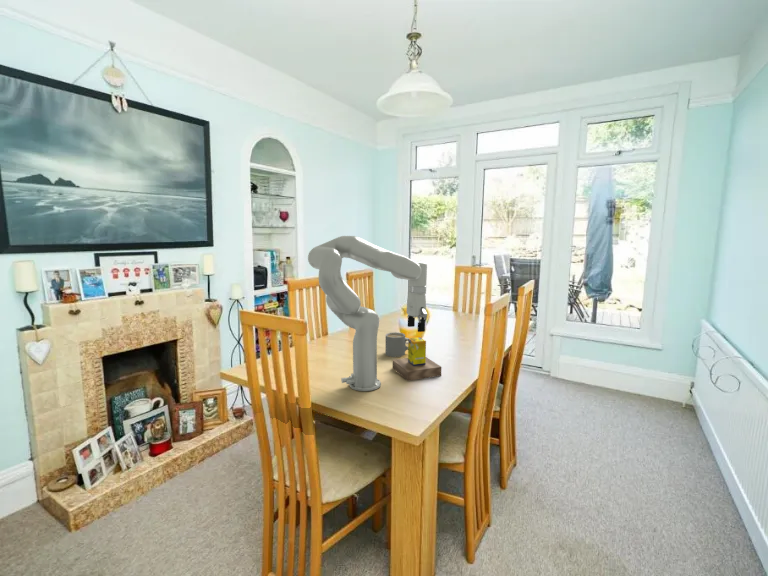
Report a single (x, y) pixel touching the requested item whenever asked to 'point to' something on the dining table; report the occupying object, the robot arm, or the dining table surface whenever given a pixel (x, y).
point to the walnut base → (416, 369)
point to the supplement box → (416, 351)
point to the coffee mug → (395, 344)
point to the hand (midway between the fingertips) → (415, 329)
